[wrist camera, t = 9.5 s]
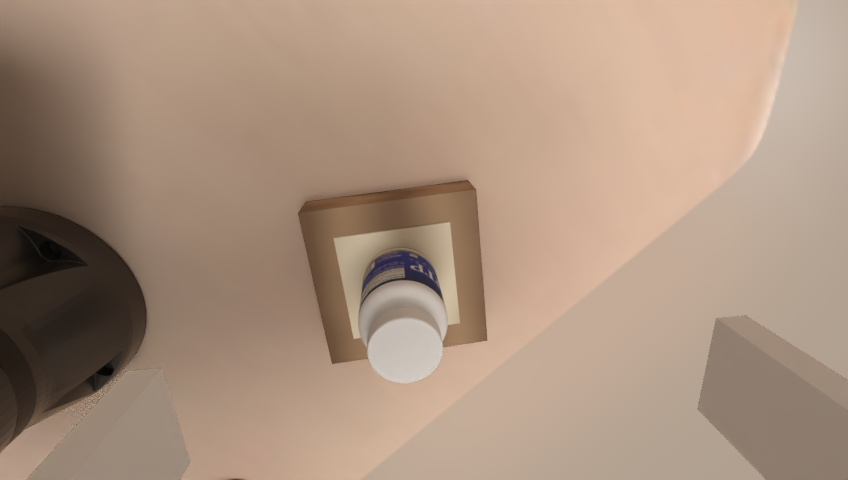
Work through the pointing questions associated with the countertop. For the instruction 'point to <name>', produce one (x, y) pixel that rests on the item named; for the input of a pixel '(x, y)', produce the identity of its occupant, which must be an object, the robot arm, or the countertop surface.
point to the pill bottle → (402, 315)
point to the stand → (387, 229)
